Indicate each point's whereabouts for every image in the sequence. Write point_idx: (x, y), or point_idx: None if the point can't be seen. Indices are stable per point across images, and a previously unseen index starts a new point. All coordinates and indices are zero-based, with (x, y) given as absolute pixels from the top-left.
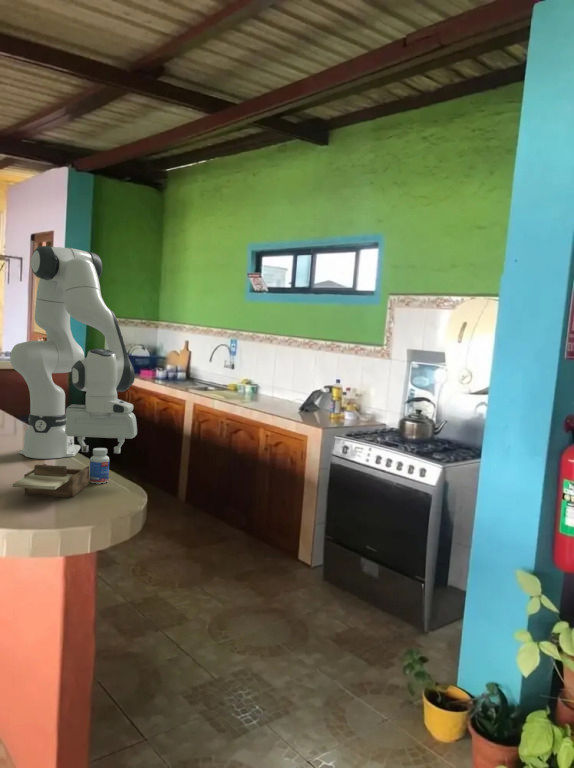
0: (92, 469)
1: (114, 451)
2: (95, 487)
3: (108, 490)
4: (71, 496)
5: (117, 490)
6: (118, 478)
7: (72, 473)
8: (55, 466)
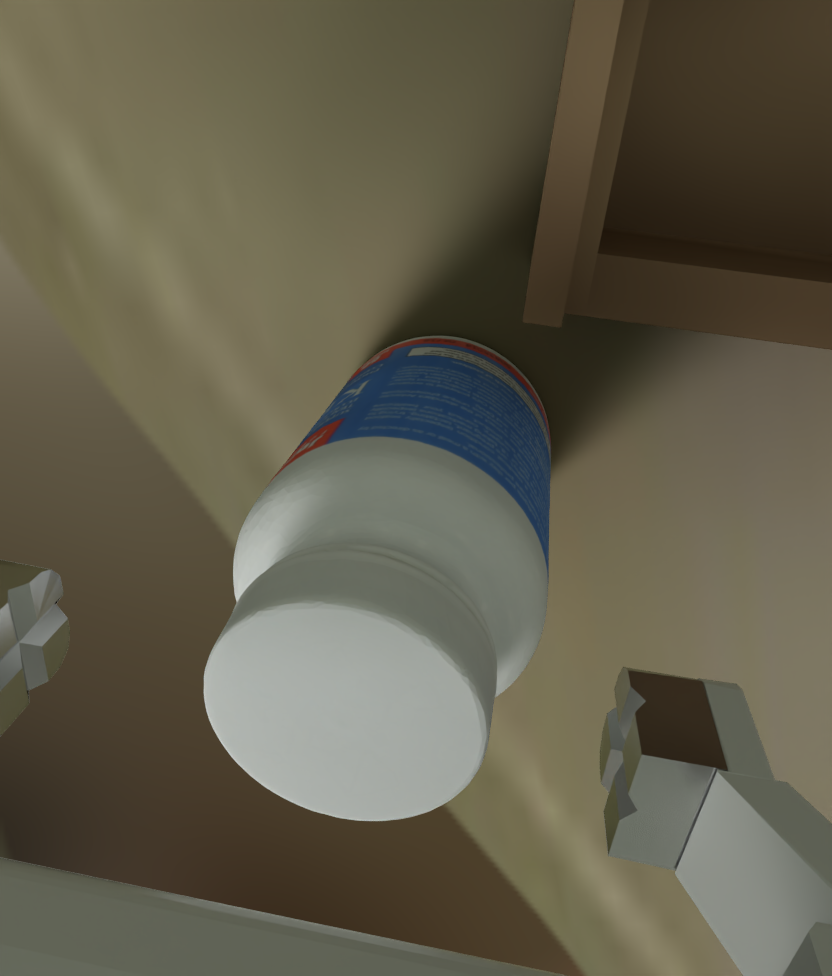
0: (493, 416)
1: (19, 576)
2: (430, 167)
3: (230, 20)
4: None
5: (123, 37)
6: None
7: (802, 272)
8: None
